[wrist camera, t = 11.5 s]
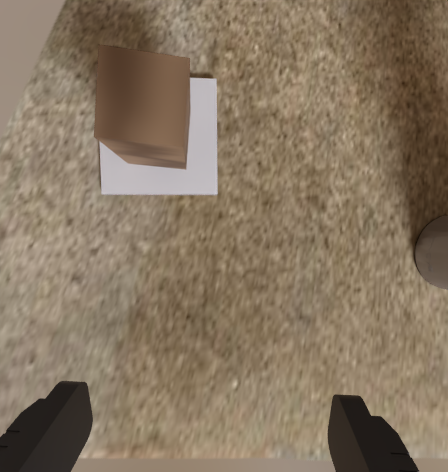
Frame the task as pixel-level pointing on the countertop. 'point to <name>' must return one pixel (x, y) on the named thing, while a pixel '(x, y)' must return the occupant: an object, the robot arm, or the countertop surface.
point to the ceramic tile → (170, 179)
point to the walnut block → (143, 106)
